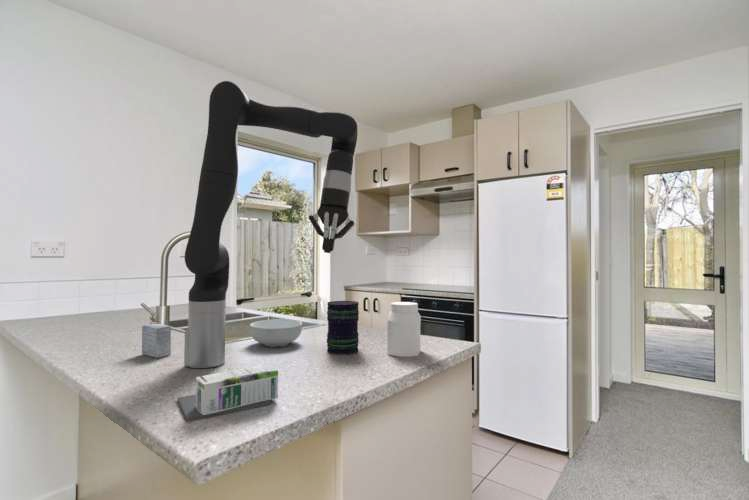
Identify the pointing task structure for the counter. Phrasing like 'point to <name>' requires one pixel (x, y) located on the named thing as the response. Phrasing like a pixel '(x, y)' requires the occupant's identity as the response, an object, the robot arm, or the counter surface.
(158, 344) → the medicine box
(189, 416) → the mat
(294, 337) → the cereal bowl
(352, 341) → the storage jar
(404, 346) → the jar
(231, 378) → the syrup box
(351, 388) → the counter surface
